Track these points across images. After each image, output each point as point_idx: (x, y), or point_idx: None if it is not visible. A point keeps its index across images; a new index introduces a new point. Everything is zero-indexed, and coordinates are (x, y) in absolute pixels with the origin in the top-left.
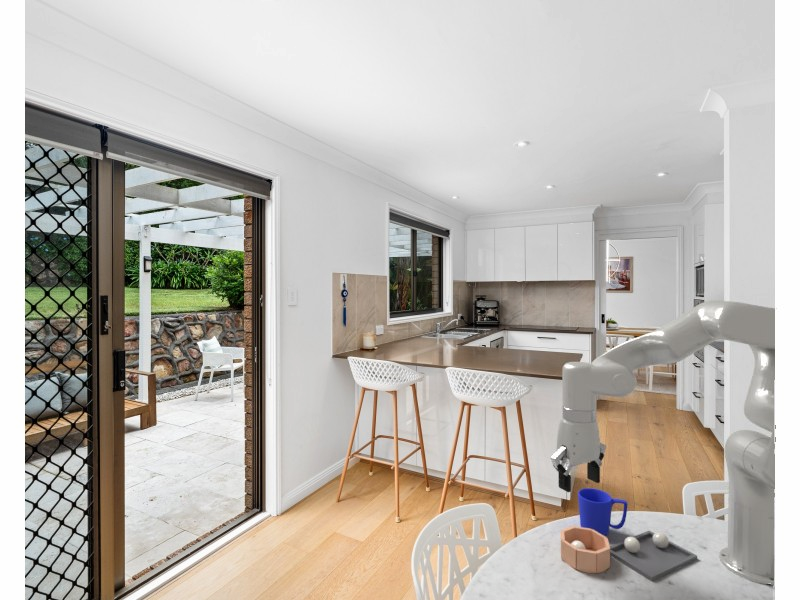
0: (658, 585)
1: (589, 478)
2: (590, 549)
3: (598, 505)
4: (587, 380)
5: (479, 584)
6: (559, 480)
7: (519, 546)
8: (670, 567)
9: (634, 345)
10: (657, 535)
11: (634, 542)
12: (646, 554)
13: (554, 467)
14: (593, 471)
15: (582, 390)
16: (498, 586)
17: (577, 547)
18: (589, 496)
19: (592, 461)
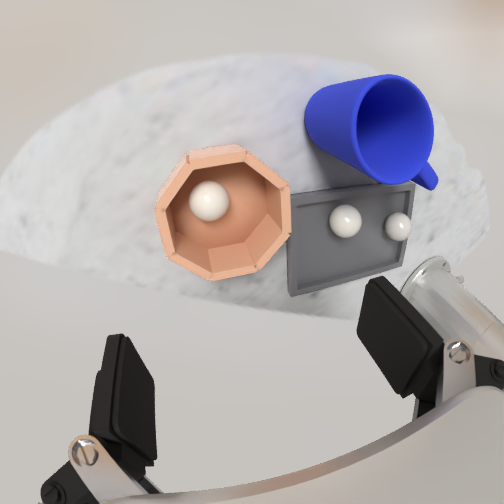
0: (291, 297)
1: (367, 297)
2: (258, 181)
3: (365, 173)
4: None
5: None
6: (95, 396)
7: (91, 109)
8: (343, 281)
9: None
10: (399, 231)
11: (345, 236)
12: None
13: (49, 479)
14: (390, 355)
15: None
16: (8, 235)
17: (198, 217)
18: (396, 92)
19: (433, 385)
